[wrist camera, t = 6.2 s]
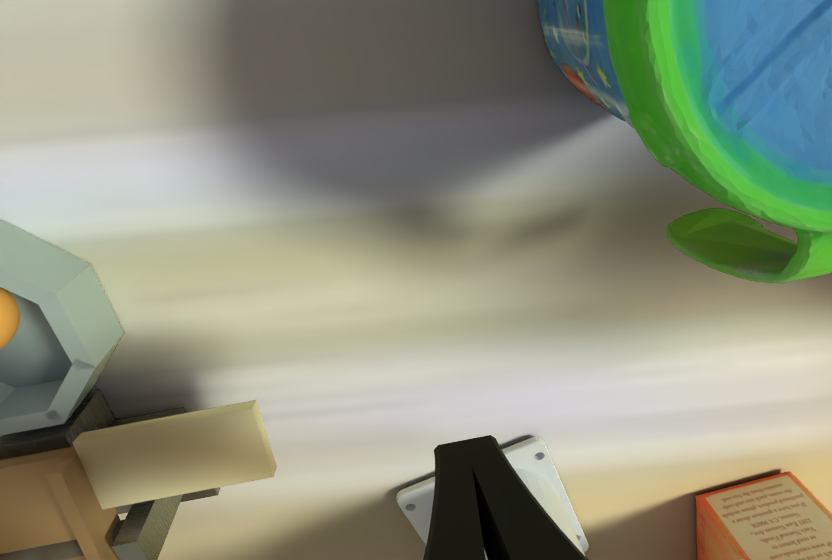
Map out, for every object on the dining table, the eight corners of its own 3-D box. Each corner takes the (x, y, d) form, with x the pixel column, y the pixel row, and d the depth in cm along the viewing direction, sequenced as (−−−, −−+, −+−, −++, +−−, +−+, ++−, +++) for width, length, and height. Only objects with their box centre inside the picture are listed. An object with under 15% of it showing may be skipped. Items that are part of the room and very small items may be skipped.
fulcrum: (220, 486, 24) (186, 593, 19) (31, 522, 24) (-49, 639, 19) (169, 376, 21) (114, 471, 16) (-48, 417, 21) (-165, 524, 16)
